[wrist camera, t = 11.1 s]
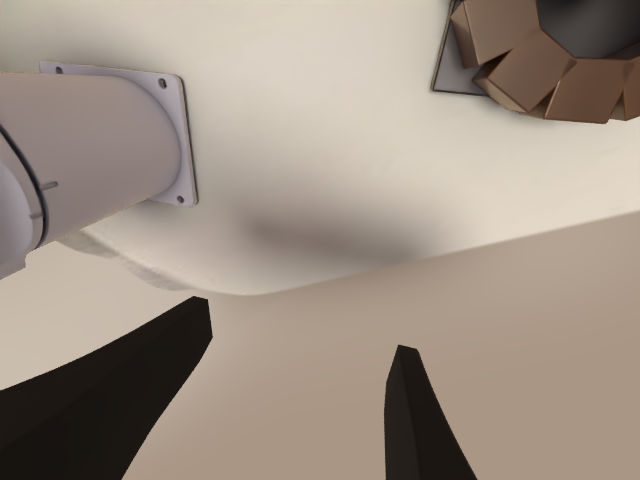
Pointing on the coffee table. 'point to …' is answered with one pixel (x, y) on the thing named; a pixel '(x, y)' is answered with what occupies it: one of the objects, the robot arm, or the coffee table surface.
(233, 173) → the coffee table surface
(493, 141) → the coffee table surface
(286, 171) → the coffee table surface
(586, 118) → the ring
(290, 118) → the coffee table surface
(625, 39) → the rack
